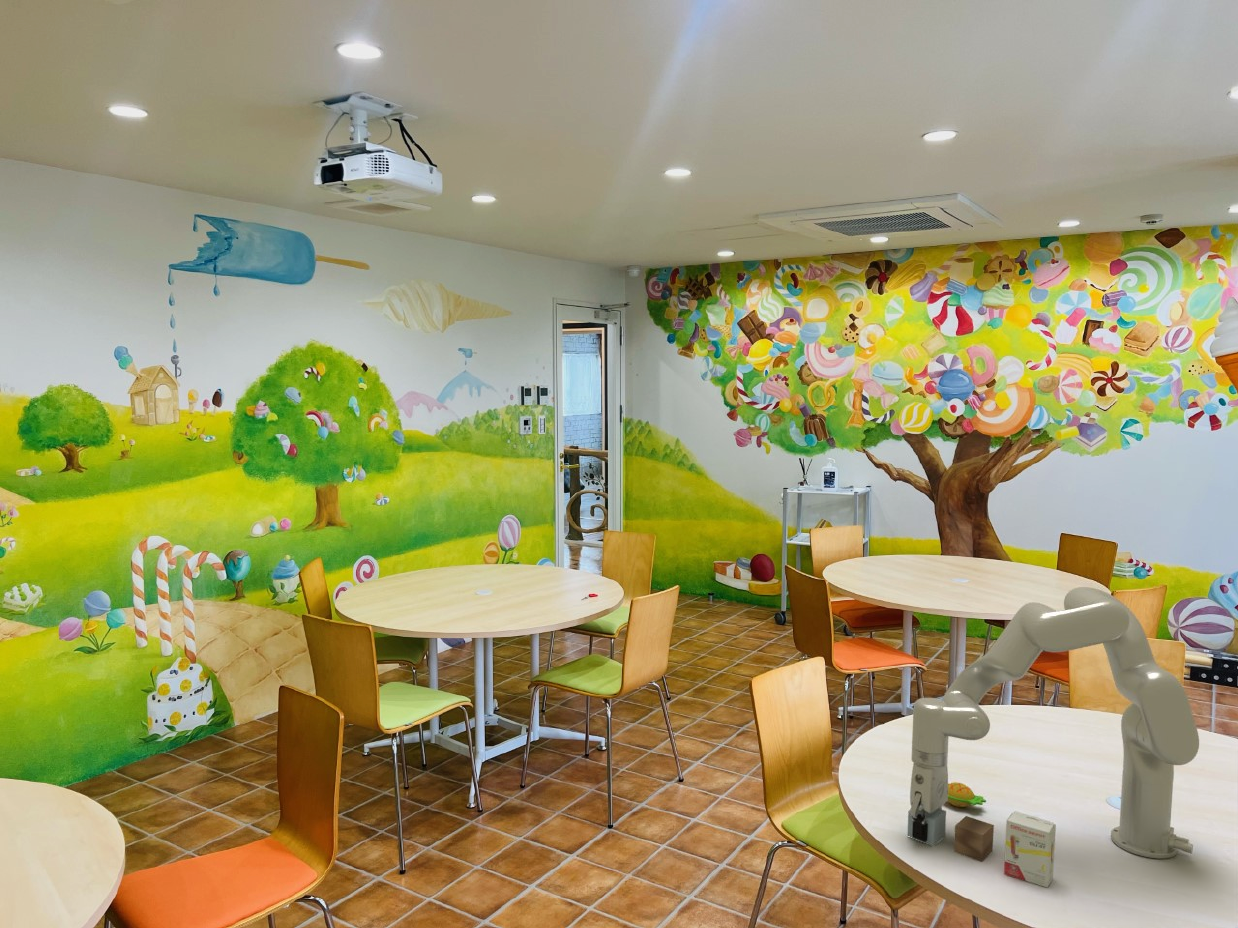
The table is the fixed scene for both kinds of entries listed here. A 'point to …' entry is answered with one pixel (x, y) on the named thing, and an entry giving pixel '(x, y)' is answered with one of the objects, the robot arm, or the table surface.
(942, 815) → the gray block
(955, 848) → the walnut block
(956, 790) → the toy pineapple
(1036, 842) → the ink box
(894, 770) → the table surface
